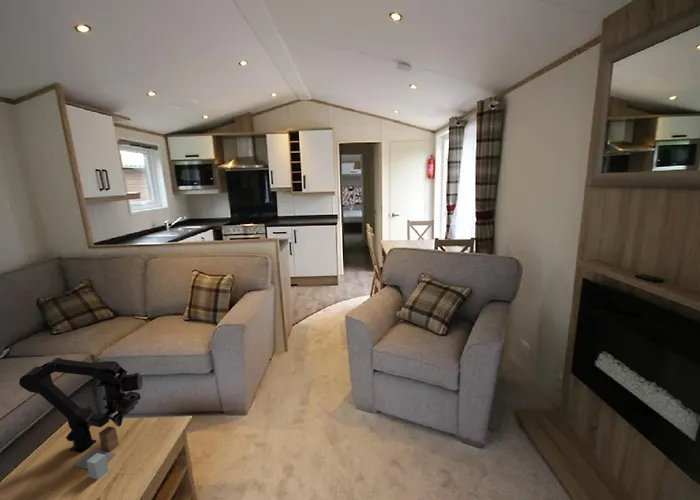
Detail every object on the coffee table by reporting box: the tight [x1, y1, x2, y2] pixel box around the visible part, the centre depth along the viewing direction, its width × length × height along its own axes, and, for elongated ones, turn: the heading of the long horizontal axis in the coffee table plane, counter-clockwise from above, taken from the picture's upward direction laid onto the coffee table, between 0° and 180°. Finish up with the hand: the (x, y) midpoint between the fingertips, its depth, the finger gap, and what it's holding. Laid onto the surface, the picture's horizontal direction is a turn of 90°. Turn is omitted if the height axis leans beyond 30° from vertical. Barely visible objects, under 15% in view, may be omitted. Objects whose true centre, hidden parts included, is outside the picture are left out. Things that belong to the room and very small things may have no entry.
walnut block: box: [98, 425, 120, 453], centre depth 136 cm, size 4×4×8 cm
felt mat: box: [73, 448, 116, 470], centre depth 131 cm, size 11×8×1 cm
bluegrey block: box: [86, 453, 109, 481], centre depth 124 cm, size 4×4×7 cm
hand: (119, 426), depth 141 cm, fingers closed
